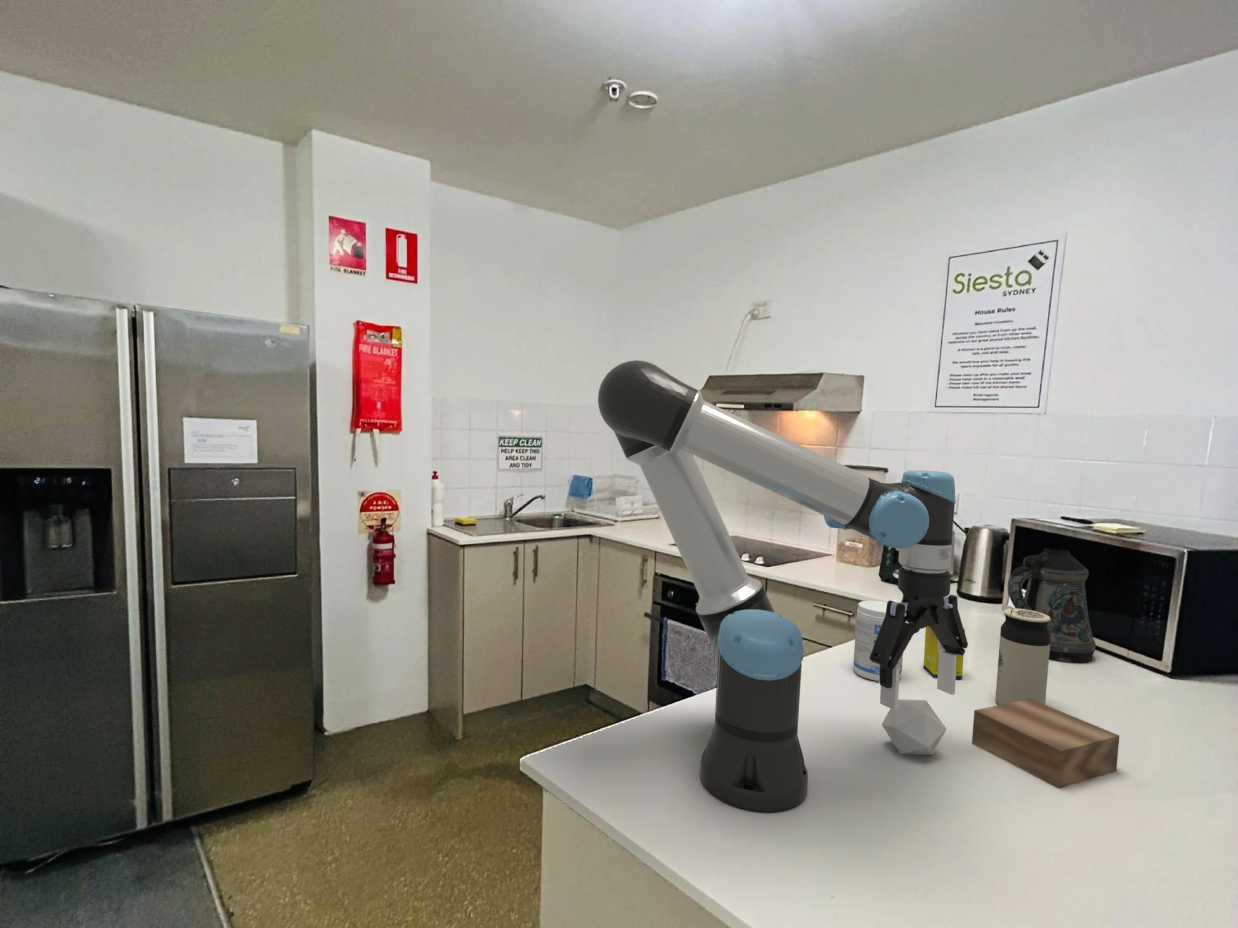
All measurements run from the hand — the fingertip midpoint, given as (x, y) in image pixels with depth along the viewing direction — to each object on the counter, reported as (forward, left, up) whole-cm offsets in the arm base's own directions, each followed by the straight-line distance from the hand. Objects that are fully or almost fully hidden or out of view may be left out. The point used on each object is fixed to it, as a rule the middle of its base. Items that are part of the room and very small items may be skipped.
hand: (918, 698), depth 102 cm
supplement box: (+35, +20, -9) cm, 41 cm away
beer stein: (+73, +19, -9) cm, 76 cm away
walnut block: (+18, -10, -9) cm, 22 cm away
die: (0, 0, -9) cm, 9 cm away
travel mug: (+34, +3, -9) cm, 35 cm away
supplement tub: (+21, +25, -9) cm, 34 cm away
